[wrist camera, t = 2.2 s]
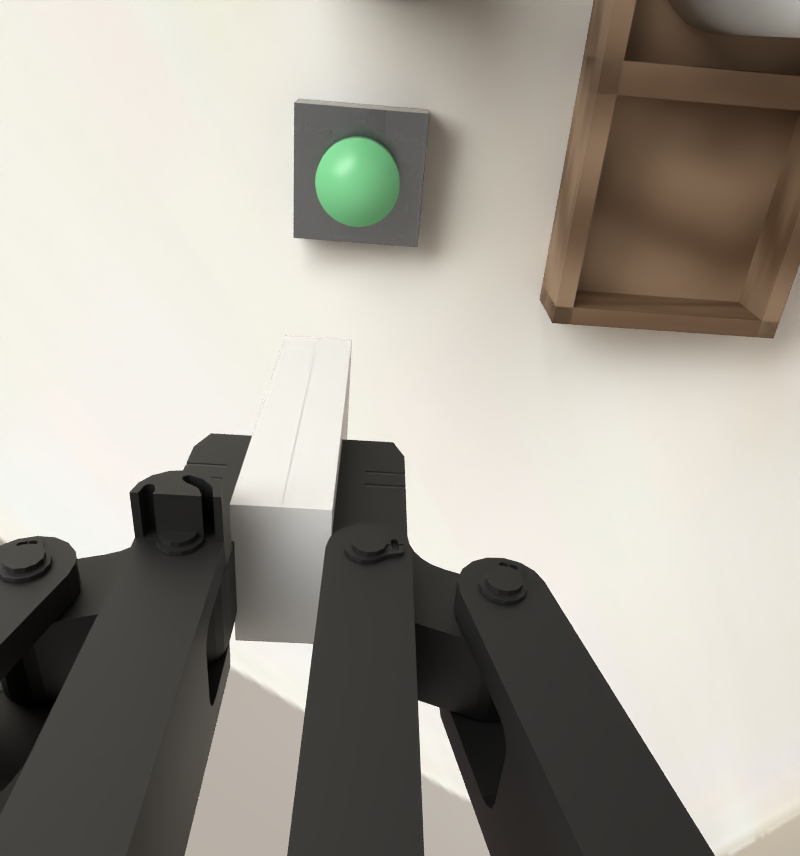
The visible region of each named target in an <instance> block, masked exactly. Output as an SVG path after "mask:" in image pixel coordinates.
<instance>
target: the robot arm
mask: <svg viewBox="0 0 800 856" xmlns="http://www.w3.org/2000/svg"><path fill="white" fill-rule="evenodd" d="M351 345H352V340H350V339H336V338H321V337H306V336H291V335H285V338H284V341H283V344H282V347H281V350H280V353H279V356H278V359H277V362H276V365H275V368H274V371H273V374H272V377H271V380H270V383H269V386H268V389H267V392H266V395H265V398H264V401H263V404H262V407H261V410H260V414H259V417H258V420H257V423H256V426H255V429H254V432H253V435H252V436H245V435H228V434H212V433H211V434H210V435H209V436H207V437H206V438H205V439H203V440H202V441H201V442H199V443H198V444H197V445H195V446H194V448H193V450H192V452H191V454H190V456H189V459H188V461H187V465H185V467H184V470H182V471H168V472H164V473H160V474H156V475H152V476H150V477H148V478H146V479H145V480H143V481H141V482H139V483H138V484H137V485H136V486H135V487H134V488H133V489H132V490H131V491H130V500H131V508H132V516H133V524H134V532H135V539H134V541H133V543H132V545H131V547H130V548H127V549H125V550H122V551H119V552H115V553H110V554H106V555H100V556H93V557H87V558H81V559H77V557H76V552H75V550H74V549H73V548H72V547H71V546H70V544H69V543H67V542H65V541H62V540H60V539H58V538H55V537H42V536H35V537H29V538H22V539H17V540H14V541H12V542H9V543H6V544H3V545H1V546H0V856H184V855H185V851H186V847H187V843H188V838H189V834H190V830H191V826H192V822H193V818H194V814H195V809H196V805H197V801H198V797H199V793H200V789H201V784H202V780H203V776H204V772H205V767H206V764H207V760H208V756H209V752H210V747H211V743H212V739H213V735H214V731H215V727H216V723H217V718H218V714H219V710H220V706H221V702H222V697H223V694H224V689H225V685H226V681H227V677H228V673H229V669H230V645H229V641H230V637H231V633H232V629H233V626H234V622H235V636H236V640H244V641H266V642H288V643H310V644H313V652H312V660H311V668H310V676H309V684H308V692H307V700H306V708H305V717H304V725H303V733H302V741H301V749H300V757H299V765H298V773H297V782H296V790H295V797H294V806H293V813H292V822H291V830H290V838H289V846H288V854H287V856H424V842H423V816H422V793H421V767H420V742H419V718H418V700H419V701H422V702H425V703H428V704H431V705H434V706H437V707H440V715H441V719H442V722H443V724H444V727H445V730H446V733H447V736H448V738H449V741H450V744H451V747H452V750H453V752H454V755H455V758H456V761H457V763H458V766H459V769H460V772H461V775H462V777H463V780H464V783H465V786H466V789H467V791H468V794H469V797H470V800H471V803H472V805H473V808H474V811H475V814H476V816H477V819H478V822H479V825H480V827H481V830H482V833H483V836H484V839H485V841H486V844H487V847H488V850H489V853H490V855H491V856H715V855H714V853H713V852H712V850H711V849H710V847H709V845H708V844H707V842H706V841H705V839H704V837H703V836H702V834H701V833H700V831H699V829H698V828H697V826H696V825H695V823H694V821H693V820H692V818H691V817H690V815H689V813H688V812H687V810H686V808H685V807H684V805H683V804H682V802H681V800H680V799H679V797H678V796H677V794H676V792H675V791H674V789H673V788H672V786H671V784H670V783H669V781H668V780H667V778H666V776H665V775H664V773H663V772H662V770H661V768H660V767H659V765H658V763H657V762H656V760H655V759H654V757H653V755H652V754H651V752H650V751H649V749H648V747H647V746H646V744H645V743H644V741H643V739H642V738H641V736H640V735H639V733H638V731H637V730H636V728H635V727H634V725H633V723H632V722H631V720H630V718H629V717H628V715H627V714H626V712H625V710H624V709H623V707H622V706H621V704H620V702H619V701H618V699H617V698H616V696H615V694H614V693H613V691H612V690H611V688H610V686H609V685H608V683H607V682H606V680H605V678H604V677H603V675H602V673H601V672H600V670H599V669H598V667H597V665H596V664H595V662H594V661H593V659H592V657H591V656H590V654H589V653H588V651H587V649H586V648H585V646H584V645H583V643H582V641H581V640H580V638H579V637H578V635H577V633H576V632H575V630H574V629H573V627H572V625H571V624H570V622H569V620H568V619H567V617H566V616H565V614H564V612H563V611H562V609H561V608H560V606H559V604H558V603H557V601H556V600H555V598H554V596H553V595H552V593H551V592H550V590H549V588H548V587H547V585H546V584H545V582H544V581H543V580H542V579H541V578H540V576H539V575H538V574H537V573H536V572H535V571H534V570H532V569H530V568H528V567H527V566H525V565H523V564H521V563H519V562H516V561H512V560H508V559H505V558H484V559H480V560H477V561H473V562H471V563H470V564H469V565H467V566H466V567H465V568H463V569H462V571H461V574H458V573H455V572H451V571H448V570H444V569H442V568H439V567H436V566H434V565H431V564H430V563H428V562H426V561H425V560H423V559H422V558H420V557H419V556H418V555H417V554H416V553H415V552H414V551H413V549H412V547H411V546H410V544H409V541H408V537H407V516H406V489H405V462H404V456H403V455H402V453H401V452H400V451H399V449H398V448H397V447H396V446H395V444H394V443H393V442H376V441H359V440H347V427H348V406H349V386H350V365H351Z"/></svg>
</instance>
